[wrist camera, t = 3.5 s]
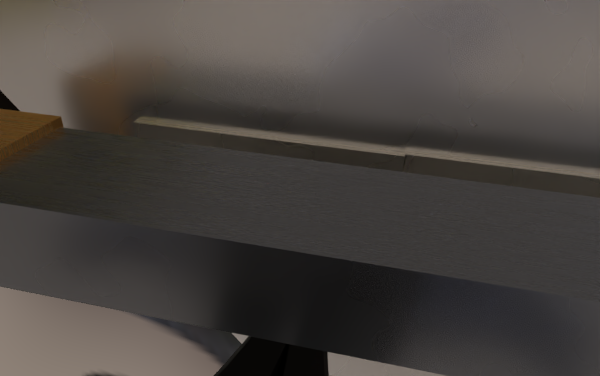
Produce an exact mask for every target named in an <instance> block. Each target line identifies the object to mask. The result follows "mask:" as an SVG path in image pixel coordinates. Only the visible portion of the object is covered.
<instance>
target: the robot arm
mask: <svg viewBox="0 0 600 376" xmlns="http://www.w3.org/2000/svg"><path fill="white" fill-rule="evenodd" d="M214 376H329V371H328V352H326V351H321V350H316V349H311V348H306V347H301V346H296V345H291V344H286V343H281V342H276V341H271V340H266V339H261V338H256V337H251V336H248V337H247V338H246V340H245V341H244V342H243V343H242V345H241V346H240V347H239V348H238V349H237V350H236V351H235V353H234V354H233V355H232V356H231V357H230V358H229V359H228V361H227V362H226V363H225V364H224V365H223V366H222V367H221V368H220V370H219V371H218V372H217V373H216V374H215V375H214Z"/></svg>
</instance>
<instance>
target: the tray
mask: <svg viewBox="0 0 600 376" xmlns="http://www.w3.org/2000/svg"><path fill="white" fill-rule="evenodd" d="M0 90H1V91H2V92H3V93H4V95H5V96H6V97H7V98H8V99H9V100H10V101H11V102H12V103H13V104H14V105H15V106H16V107H17V108H18V109H19V110H20V111H22V112H30V113H38V114H46V115H54V116H61V118H62V123H63V127H64V128H70V129H77V130H85V131H93V132H100V133H108V134H116V135H123V136H131V137H139V138H146V139H154V140H161V141H169V142H177V143H184V144H192V145H200V146H207V147H215V148H223V149H230V150H238V151H246V152H253V153H261V154H269V155H276V156H284V157H292V158H299V159H307V160H315V161H322V162H330V163H338V164H345V165H353V166H361V167H368V168H376V169H383V170H391V171H399V172H406V173H414V174H422V175H429V176H437V177H445V178H452V179H460V180H468V181H475V182H483V183H491V184H498V185H506V186H514V187H521V188H529V189H537V190H544V191H552V192H560V193H567V194H575V195H583V196H590V197H598V198H600V0H0ZM232 334H233V335H234V336H235V337H236V338H237V339H238V340H239V341H240V342H241V343H243V342H244V341H245V340H246V338H247V337H248V336H246V335H241V334H236V333H232ZM328 371H329V376H446V375H441V374H436V373H431V372H426V371H421V370H416V369H411V368H406V367H401V366H396V365H391V364H386V363H381V362H376V361H371V360H366V359H361V358H356V357H351V356H346V355H341V354H336V353H331V352H328Z"/></svg>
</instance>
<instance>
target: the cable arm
mask: <svg viewBox="0 0 600 376" xmlns="http://www.w3.org/2000/svg"><path fill="white" fill-rule="evenodd" d="M0 286H1V287H6V288H11V289H16V290H21V291H26V292H31V293H36V294H41V295H46V296H51V297H56V298H61V299H66V300H71V301H76V302H81V303H86V304H91V305H96V306H101V307H106V308H111V309H116V310H121V311H126V312H131V313H136V314H141V315H146V316H151V317H156V318H161V319H166V320H171V321H176V322H181V323H186V324H191V325H196V326H201V327H206V328H211V329H216V330H221V331H226V332H231V333H236V334H241V335H246V336H251V337H256V338H261V339H266V340H271V341H276V342H281V343H286V344H291V345H296V346H301V347H306V348H311V349H316V350H321V351H326V352H331V353H336V354H341V355H346V356H351V357H356V358H361V359H366V360H371V361H376V362H381V363H386V364H391V365H396V366H401V367H406V368H411V369H416V370H421V371H426V372H431V373H436V374H441V375H446V376H600V198H598V197H590V196H583V195H575V194H567V193H560V192H552V191H544V190H537V189H529V188H521V187H514V186H506V185H498V184H491V183H483V182H475V181H468V180H460V179H452V178H445V177H437V176H429V175H422V174H414V173H406V172H399V171H391V170H383V169H376V168H368V167H361V166H353V165H345V164H338V163H330V162H322V161H315V160H307V159H299V158H292V157H284V156H276V155H269V154H261V153H253V152H246V151H238V150H230V149H223V148H215V147H207V146H200V145H192V144H184V143H177V142H169V141H161V140H154V139H146V138H139V137H131V136H123V135H116V134H108V133H100V132H93V131H85V130H77V129H70V128H64V127H63V123H62V118H61V116H54V115H46V114H38V113H30V112H22V111H14V110H6V109H0Z"/></svg>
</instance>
